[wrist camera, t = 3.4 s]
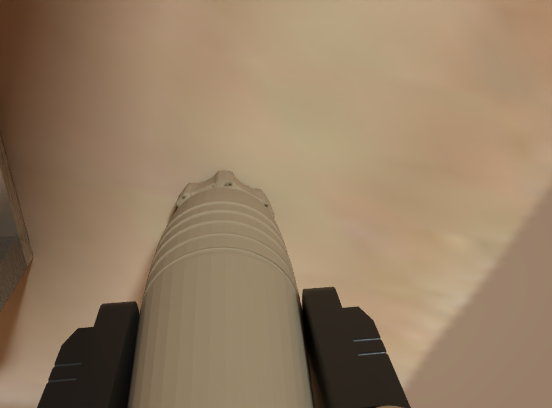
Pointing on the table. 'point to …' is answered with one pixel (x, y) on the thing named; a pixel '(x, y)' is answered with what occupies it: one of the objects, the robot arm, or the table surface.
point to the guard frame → (11, 234)
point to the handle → (221, 308)
